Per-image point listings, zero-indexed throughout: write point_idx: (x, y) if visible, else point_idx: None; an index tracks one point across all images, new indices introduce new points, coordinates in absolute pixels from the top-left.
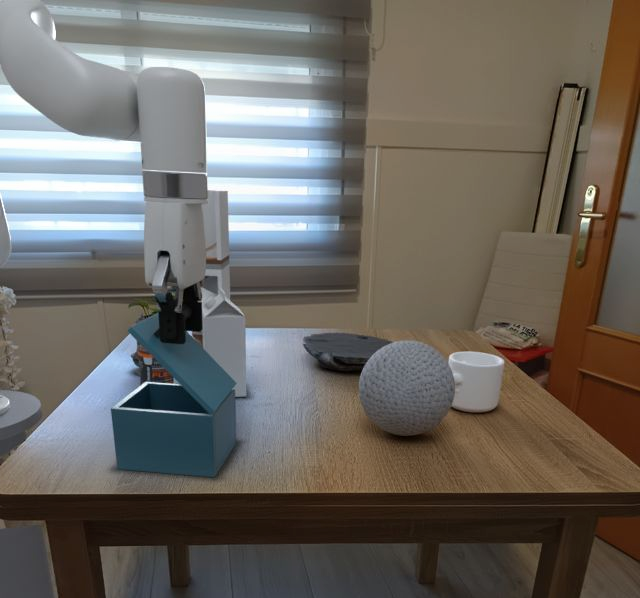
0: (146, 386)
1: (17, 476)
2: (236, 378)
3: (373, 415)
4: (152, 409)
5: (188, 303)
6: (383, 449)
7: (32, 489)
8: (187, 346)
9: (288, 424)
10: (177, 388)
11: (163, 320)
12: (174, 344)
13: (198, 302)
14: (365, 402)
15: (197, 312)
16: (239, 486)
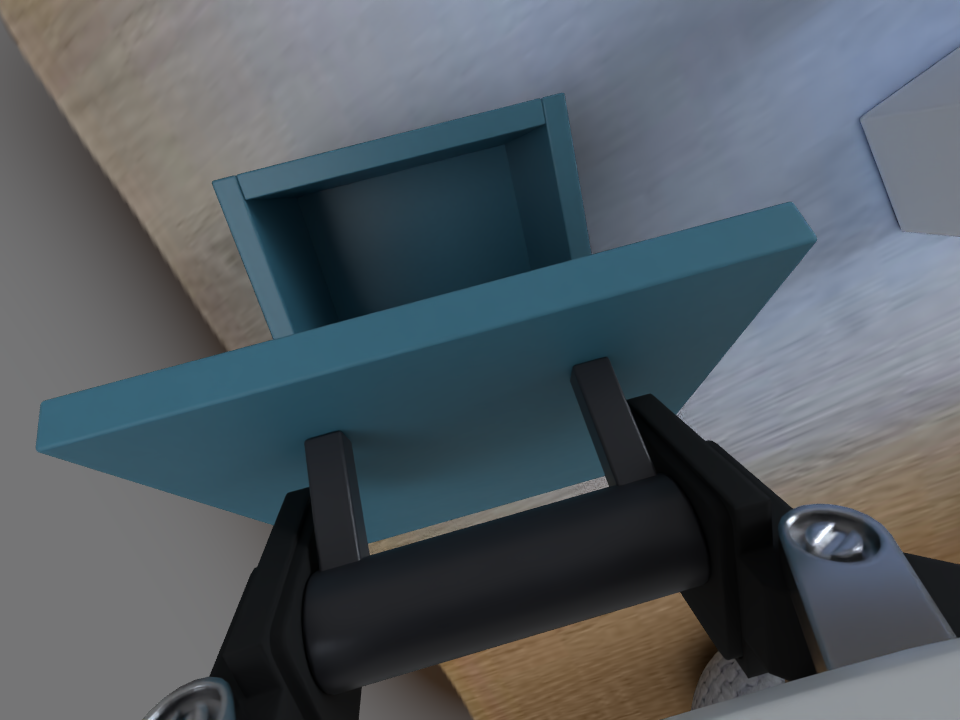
0: (519, 130)
1: None
2: (955, 207)
3: (711, 682)
4: (521, 143)
5: (721, 593)
6: (647, 655)
7: (43, 33)
8: (561, 427)
9: (722, 436)
10: (566, 252)
11: (222, 654)
12: (455, 441)
13: (753, 660)
14: (740, 687)
15: (689, 599)
16: None
